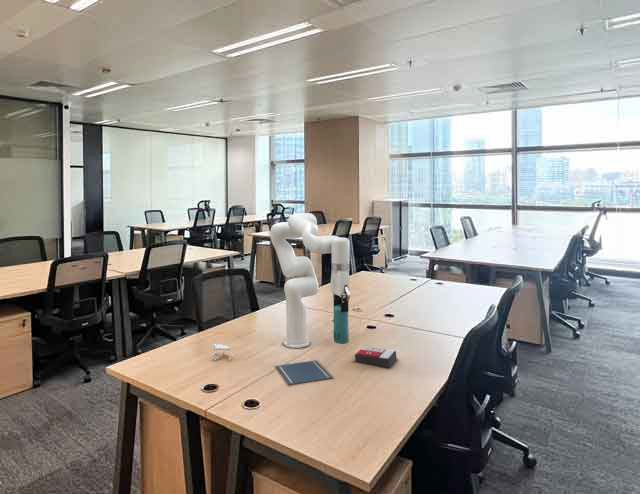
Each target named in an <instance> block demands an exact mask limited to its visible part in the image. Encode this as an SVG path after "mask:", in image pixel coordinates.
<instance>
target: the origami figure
mask: <svg viewBox="0 0 640 494" xmlns="http://www.w3.org/2000/svg"><path fill="white" fill-rule="evenodd" d="M213 350H214V351H213V352H212V354H211V357H214V358H215V359H213V361H217V360H218V359H219V357H218V356H217V352H218V351H223V352H222V355H223V356H225V352H226V351H229V352H230V355H231V356H229V357H228V362H230V360H231V359H232V357H233V356H234V354H233V352H232V349H231V348H230V347H229V346H228V345H225V344H222V343H221V344H220V343H219V344H218V343H215V344H214V343H213Z"/></svg>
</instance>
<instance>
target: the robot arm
mask: <svg viewBox="0 0 640 494" xmlns="http://www.w3.org/2000/svg"><path fill="white" fill-rule="evenodd" d="M318 232H319V227H318V220H317V217H316V216H315V215H314V214H313V213H310V212H304V213H303V212H301V213H293V214H290V216H289V217H288V218H287V221H281V222H276V223H274V224H273V225H272V226H271V228H270V232H269V236H270V241H271V244H272V246H273V248H274V250H275V252H276V255H277V259H278V262H279V265H280V269H281V272H282V275H283V276H284V277H287V278H290V279H288V280H287V281H286V282H285V283H284V286H283V291H284V297H285V305H286V306H285V309H286V338H285V339H284V340H283V345H284V346H285V347H287V348H291V349H302V348H306V347H308V346H309V345H310V340H309V339H308V338H307V306H306V304H305V302H304V301H303V298H307V297H312V296H316V295H317V294H318V293H319V288H320V287H319V286H320V285H319V281H318V278H317V274H316V272H315V268H314V266H313V263H312V261H311V259H310V258H309V257H307V256H305V255H301V256H297V255H296V253H295V250H294V248H293V246H292V245H291V244H290V243H289V242H288V241H287V240H288V239H290V240H291V239H302V244H303V246H304V247H305V248H306V249H307V250H308V251H310V252H311V253H312V254H315V255H326V254H331V274H330V292H331V293H332V294H333V295H332V298H333V308H334V307H335V306H336V305H341V312H348V313H349V302H350V298H351V282H350V280H351V279H350V266H351V265H350V240H349V238H347V237H341V236H337V235H319V236H317V235H318ZM293 277H294V278H293ZM337 297H341V301H342V302H341V304H337V303H336V298H337ZM343 297H344V299H343Z"/></svg>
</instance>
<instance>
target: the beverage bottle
mask: <svg viewBox="0 0 640 494" xmlns="http://www.w3.org/2000/svg"><path fill="white" fill-rule="evenodd" d="M344 298H345V297H343V299H344ZM341 302H342V301H341V296H340V297H337V298H336V303H337V304H341ZM332 318H333V342H334V343H335V344H338V345H346V344H348V343H349V340H350V335H349V334H350V333H349V331H350V330H349V311H348V312H341V305H336V306H335V307H334V306H333V317H332Z"/></svg>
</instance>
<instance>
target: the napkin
mask: <svg viewBox="0 0 640 494" xmlns="http://www.w3.org/2000/svg"><path fill="white" fill-rule="evenodd" d="M275 367H276V369H277V370H278V372H280V374H281V376H282V377H283V378H284V379H283V380H285V382H286V383H287V384H288V385H289V386H293V385H299V384H306V383H312V382H318V381H324V380H331V379H333V376H332V375H331V374H330V373H329V372H328V371H327V370H326V369H325V367H323V366H322V365H321V364H320V363H319V362H318V361H317V360H310V361H304V362H303V361H302V362H296V363H289V364H283V365H281V364H280V365H276V366H275Z"/></svg>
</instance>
